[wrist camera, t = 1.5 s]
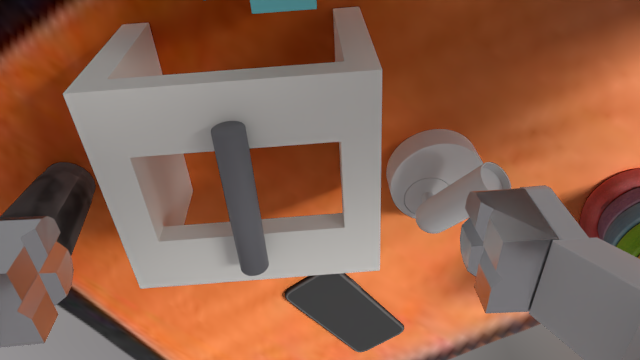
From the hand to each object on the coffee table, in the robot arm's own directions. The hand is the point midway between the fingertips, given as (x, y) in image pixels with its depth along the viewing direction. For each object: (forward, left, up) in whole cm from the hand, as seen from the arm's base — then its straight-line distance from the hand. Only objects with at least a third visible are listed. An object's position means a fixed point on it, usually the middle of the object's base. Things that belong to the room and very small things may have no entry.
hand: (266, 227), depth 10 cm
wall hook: (-12, +20, -31) cm, 39 cm away
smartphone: (-3, +40, -31) cm, 51 cm away
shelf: (+4, +13, -30) cm, 33 cm away
